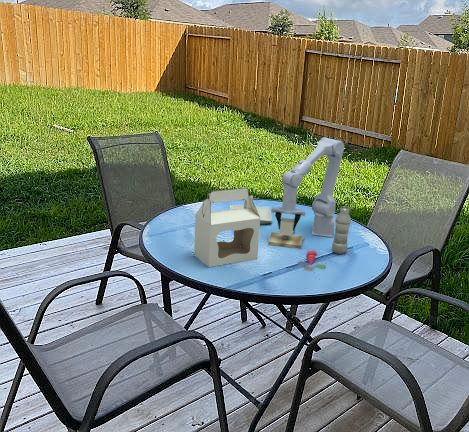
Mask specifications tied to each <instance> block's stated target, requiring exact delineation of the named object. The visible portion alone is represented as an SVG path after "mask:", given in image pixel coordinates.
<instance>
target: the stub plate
mask: <svg viewBox="0 0 469 432" xmlns="http://www.w3.org/2000/svg"><path fill="white" fill-rule="evenodd" d="M279 233H280V232H273V231H272V232H270V235H269V239H268V243H267V245H268V246H275V247H284V248H290V249H291V248H292V249H297V250H298V249H299V250H300V249H301V248H302V242H303V235H299V234H293V235H292V236H287V235H279Z"/></svg>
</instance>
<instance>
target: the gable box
mask: <svg viewBox="0 0 469 432" xmlns="http://www.w3.org/2000/svg"><path fill="white" fill-rule="evenodd" d="M241 200H242V201H244V202H243V203H244V204H243V205H244V208H239V209H231V210H230V209H225V210H224V209H223V210H216V211H211V209H212V208H211V207H212V204H217V203H224V202H232V201H234V202H235V201H241ZM255 206H256V205H255V203H254V196H253V194H251V195H249V189H248V188H246V187H241V188H231V189H230V188H229V189H223V190H221V189H220V190H213V191H210V192H208V198H206V199H204V200H203V202H202V204H201V206H200V207H199V208H198V210H197V211H196V213H195V217H194V219H195V220H194V221H195V222H194V247H193V248H194V249H193V251H194V254H195V255H196V256H197V257H198V258H199V259H198V258H197V257H196V256H195V255H194V254H193V255H194V256H195V257H196V258H197V259H198V260H200V261H201V260H202V261H203V262H204V263H205V264H206V265H207V266H209V267H210V266H216V267H218V266H217V265H221V266H224V265H223V264H227V265H230V264H229V263H232V264H237V262H238V263H242V262H246V261H253V260H257V259H258V253H259V252H258V251H259V243H260V242H259V240H260V239H259V238H260V227H261V226H260V225H261V224H260V216H259V214H258V212H257V209H256V207H255ZM225 231H233V239H232V241H217V236H218V235H219V234H220V233H221V232H225ZM202 261H201V262H202ZM203 262H202V263H203ZM204 263H203V264H204ZM205 264H204V265H205ZM206 265H205V266H206ZM207 266H206V267H207ZM209 267H208V268H209ZM210 268H211V267H210Z"/></svg>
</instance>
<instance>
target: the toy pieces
mask: <svg viewBox="0 0 469 432" xmlns="http://www.w3.org/2000/svg"><path fill="white" fill-rule="evenodd" d="M317 256H318V253H317V252H316V251H315V250H309V251H307V252H306V256H305V257H306V258H305V259H306V260H307V262H308V263H307V262H306V261H298V262H297V265H298V266H300V267H301V266H303V267H304V268H303V269H304V271H309V272H313V269H314V267H315V268H317V269H320V270H324V269H326V268H327V266H326V265H324V264H319V263H318V264H316V265H315V266H314V267H311V266H312V265H313V263H314V262H315V260H316V257H317ZM308 264H309V266H308ZM306 266H308V267H306Z"/></svg>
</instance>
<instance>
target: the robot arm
mask: <svg viewBox="0 0 469 432" xmlns="http://www.w3.org/2000/svg"><path fill="white" fill-rule="evenodd" d="M344 151H345V144H344V143H343V141H342V140H337V139H333V138H329V137H327V136H323V137H322V138H320V140H319V141H318V142H317V144H316V147H315V148H314V149H313V151H312V152H311V153H310V154H308V156H307V158H306V159H301V160H298V163H297V164H295V166H293V167H292V168H291V170H289V171H286V172H284V173H283V175H282V177H281V182H282V187H283V191H282V192H283V195H282V204H281V205H282V207H281V206H279V207H277V206H276V207H274V206H272V207H271V214H274V217H275V219H276V221H277V225H278V226H277V227H278V231H280V222H281V218H282V214H285V215H292V216H293V215H294V218H293V219H294V227H293V232H295V231H296V227H297V225H298V223H299V221H300V220H301V217H306V210H302V209H299V208H296V207H297V206H296V205H297V196H298V187H299V186H300V185H301V184H302V181H303V179H304V177H305V176H306V175H307V174H308V173H309V172H310V171H311V170H312V166H313V165H314V164H315V163H316V162H317V161H319V160H320V159H321V158H322V157H323V156H326V158H327V159H328V161H327V166H326V170H325V174H324V178H323V182H322V186H321V189H320V193H318V194H317V195H315V197H314V200H313V202H312V205H311V209H312V211H313V214H314V217H313V218H314V219H313V226H312V227H313V228H311V235H312V236H317V237H318V236H319V237H327V238H328V237H329V238H334V236H333V235H334V233H335V222H336V216H334V215H335V212H336V203H337V201H336V199H335V198H334V196H333V194H334V191H335V186H336V183H337V178H338V175H339V171H340V166H341V162H342V158H343V154H344Z"/></svg>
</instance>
